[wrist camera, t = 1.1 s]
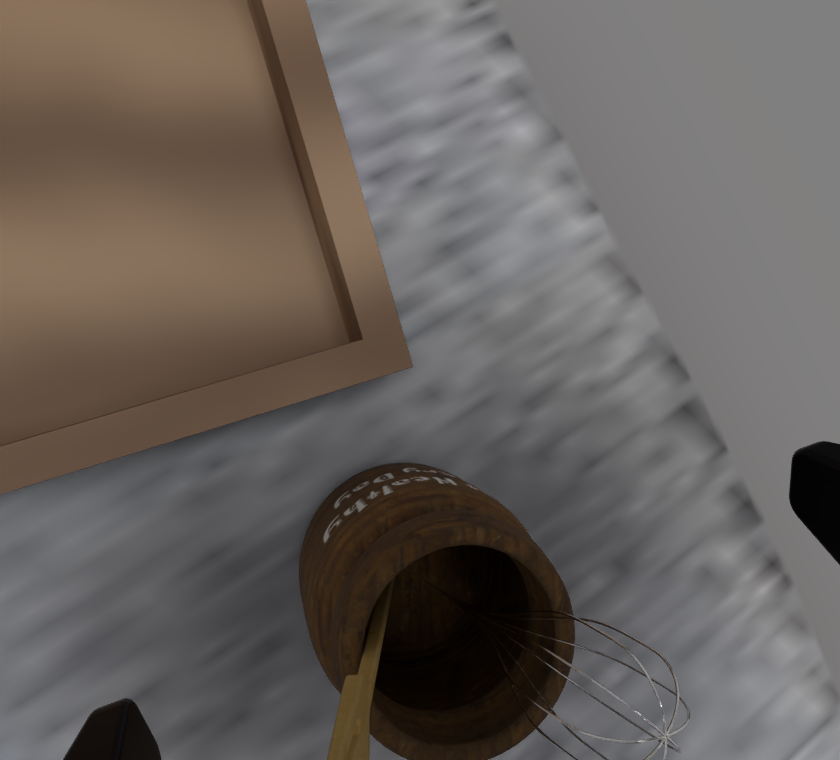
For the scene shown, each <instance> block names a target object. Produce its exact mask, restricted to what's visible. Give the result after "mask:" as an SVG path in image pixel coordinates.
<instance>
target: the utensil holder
mask: <svg viewBox="0 0 840 760" xmlns="http://www.w3.org/2000/svg"><path fill="white" fill-rule="evenodd" d="M299 580H300V590H301V597H302V602H303V608H304V613H305V618H306V622H307V627H308V630H309V634H310V638H311V641H312V644H313V647H314V650H315V653H316V655H317V658H318V660H319V662H320V664H321V666H322V668H323V670H324V672H325V673H326V675H327V677H328V678H329V680H330V681H331V683H332V684H333V685H334V687H335V688H336V689H337V690H338V691H339V693H340V694H341V698H340V703H339V707H338V712H337V716H336V721H335V726H334V730H333V735H332V740H331V744H330V749H329V753H328V758H327V760H369V733H370V734H371V735H372V736H373V737H374V738H375V739H376V740H377V741H378V742H380V743H381V744H382V745H383V746H385V747H386V748H388V749H389V750H391V751H392V752H394V753H396V754H398V755H400V756H402V757H404V758H406V759H409V760H488V759H490V758H493V757H495V756H497V755H500V754H502V753H504V752H505V751H507V750H509V749H511V748H512V747H514V746H515V745H517V744H518V743H520V742H521V741H522V740H523V739H525V738H526V737H527V736H528V735H529V734H531V733H532V732H533V731H534V730H535V729H537V730H538V731H539V732H540V733H541V734H542V735H543V736H544V737H545V738H546V739H547V740H548V741H550V742H551V743H552V744H553V745H555V746H556V747H557V748H558V749H560V750H561V751H562V752H564V753H565V754H566V755H568V756H569V757H571V758H572V759H573V760H578V759H577V758H575V757H574V756H572V755H571V754H570V753H568V752H567V751H566V750H564V749H563V748H561V747H560V746H559V745H558V744H556V743H555V742H554V741H552V740H551V739H550V738H549V737H548V736H547V735H545V734H544V733H543V732H542V731H541V730H540V729H539V728H538V726H539V725H540V723H541V722H542V721H543V720H544V719H545V718H546V716H547V715H548V714H550V715H551V716H552V717H554V718H555V719H557V720H558V721H559V722H561V723H562V725H563V726H564V727H565V728H566V729H567V730H568V731H569V732H570V733H571V734H572V735H574V736H575V737H576V738H577V739H578V740H579V741H580V742H582V743H583V744H584V745H585V746H587V747H588V748H589V749H590V750H592V751H593V752H595V753H596V754H597V755H599V756H600V757H601V758H603V759H604V760H609V759H607V758H606V757H604V756H603V755H602V754H600V753H599V752H598V751H596V750H595V749H593V748H592V747H591V746H589V745H588V744H587V743H586V742H584V741H583V740H582V739H581V738H580V737H578V736H577V735H576V734H575V733H574V732H573V731H572V730H571V729H573V730H575V731H577V732H579V733H582V734H584V735H587V736H590V737H593V738H597V739H601V740H605V741H611V742H618V743H645V742H651V741H656V740H657V741H659V742H660V743H659V744H658V746H657V747H656V748H655V749H654V750H653V752H652V753H651V754H650V755H649V756H647V757H646V758H645V759H644V760H649V759H650V758H651V757H652V756H653V755H654V754H655V753H656V752H657V751H658V750H659V748H660V747H661V746H662V744H664V754H663V758H662V760H665V759H666V754H667V747H668V748H670V749H672V750H674V751H676V752H678V753H681V752H682V750H681V748H680V747H679V746H678V745H677V744H676V743H675V742H674V741H673V740H672V739H671V738H670V737H669V736H672V735H674V734H676V733H678V732H680V731H681V730H682V729H684V728H685V727H686V726H687V724H688V723H689V720H690V710H689V708H688V706H687V704H686V702H685V701H684V700H683V699H682V698H681V697H680V696H679V687H678V682H677V679H676V676H675V673H674V671H673V669H672V667H671V666H670V664H669V663H668V661H667V660H666V659H665V658H664V656H662V655H661V654H660V653H659V652H658V651H656V650H655V649H653V648H652V647H650V646H648V645H647V644H645V643H643V642H641V641H640V640H638V639H636V638H634V637H633V636H631V635H629V634H627V633H625V632H623V631H621V630H619V629H617V628H615V627H613V626H611V625H608V624H605V623H603V622H599V621H596V620H592V619H586V618H576V617H574V616H573V611H572V606H571V602H570V599H569V596H568V593H567V591H566V588H565V586H564V583H563V582H562V580H561V578H560V576H559V574H558V573H557V571H556V570H555V568H554V566H553V565H552V563H551V562H550V560H549V559H548V558H547V556H546V555H545V554H544V553H543V551H542V550H541V549H540V548H539V547H538V545H537V544H536V543H535V542H534V541H533V540H532V538H531V537H530V535H529V534H528V532H527V531H526V529H525V528H524V527H523V525H522V524H521V523H520V522H519V521H518V519H517V518H516V517H515V516H514V515H513V514H512V513H511V512H510V511H509V510H508V509H507V508H505V507H504V506H503V505H502V504H500V503H499V502H498V501H497V500H495V499H494V498H492V497H491V496H489V495H488V494H486V493H485V492H483V491H481V490H480V489H478V488H476V487H475V486H473V485H471V484H469V483H467V482H465V481H464V480H462V479H460V478H458V477H456V476H454V475H452V474H450V473H447V472H445V471H443V470H440V469H437V468H434V467H430V466H426V465H421V464H413V463H395V464H387V465H382V466H378V467H374V468H371V469H368V470H366V471H363V472H361V473H359V474H357V475H355V476H353V477H352V478H350V479H349V480H347V481H345V482H344V483H343V484H341V485H340V486H339V487H338V488H337V489H335V490H334V491H333V492H332V493H331V494H330V495H329V496H328V497H327V499H326V500H325V501H324V502H323V503H322V505H321V506H320V507H319V509H318V510H317V512H316V514H315V515H314V517H313V519H312V521H311V523H310V525H309V527H308V530H307V532H306V535H305V538H304V541H303V545H302V550H301V556H300V566H299ZM574 620H577V621H579V622H581V623H583V624H585V625H587V626H589V627H590V628H592V629H594V630H596V631H597V632H599V633H601V634H602V635H604V636H606V637H608V638H609V639H611V640H612V641H614V642H615V643H617V644H618V645H620V646H621V647H622V648H624V649H625V650H626V651H627V652H628V653H629V654H630V655H631V656H632V657H633V658H634V660H635V661H636V662H637V663H638V665H639V666H640V667H641V669H642V670H643V672H644V673H643V672H641V671H639V670H638V669H636V668H634V667H632V666H630V665H628V664H626V663H624V662H622V661H620V660H618V659H616V658H614V657H611V656H609V655H607V654H604V653H601V652H598V651H596V650H593V649H590V648H587V647H583V646H580V645H577V644H575V626H574ZM585 621H589V622H594V623H598V624H601V625H604V626H606V627H609V628H612V629H614V630H616V631H618V632H620V633H622V634H624V635H626V636H627V637H629V638H631V639H633V640H635V641H636V642H638V643H640V644H642V645H643V646H645V647H647V648H649V649H650V650H652V651H653V652H654V653H656V654H657V655H659V656H660V657H661V658H662V659H663V660H664V662H665V663H666V664H667V666H668V667H669V669H670V671H671V673H672V676H673V678H674V682H675V686H676V692H674V691H673V690H671V689H670V688H668V687H667V686H665V685H663V684H662V683H660V682H658V681H657V680H655V679H653V678H651V677H650V676H649V675H648V673H647V671H646V670H645V668H644V667H643V665H642V664H641V663H640V662H639V660H638V659H637V658H636V657H635V655H634V654H633V653H632V652H631V651H630V650H629V649H628V648H627V647H625V646H624V645H623V644H622V643H620V642H619V641H617V640H616V639H614V638H613V637H611V636H609V635H608V634H606V633H604V632H602V631H601V630H599V629H597V628H595V627H594V626H592V625H590V624H588V623H586V622H585ZM574 646H576V647H579V648H582V649H585V650H588V651H591V652H594V653H597V654H600V655H603V656H605V657H608V658H610V659H612V660H615V661H617V662H619V663H621V664H623V665H625V666H627V667H629V668H631V669H633V670H634V671H636V672H638V673H640V674H642V675H643V676H645V677H647V678H648V680H649V682H650V684H651V686H652V688H653V690H654V692H655V695H656V697H657V700H658V703H659V707H660V710H661V714H662V720H663V727H664V732H663V731H661V730H660V729H659V728H658V727H657V726H655V725H654V724H653V723H652V722H651V721H649V720H648V719H647V718H646V717H644V716H643V715H642V714H641V713H639V712H638V711H637V710H635V709H634V708H633V707H631V706H630V705H629V704H627V703H626V702H625V701H623V700H622V699H621V698H619V697H618V696H617V695H615V694H614V693H612V692H611V691H610V690H608V689H607V688H605V687H604V686H603V685H601V684H600V683H598V682H597V681H595V680H594V679H592V678H591V677H590V676H588V675H587V674H585V673H583V672H582V671H580V670H579V669H577V668H576V667H574V666H573V665H571V664H572V659H573V653H574ZM570 668H572V669H574V670H575V671H577V672H578V673H580V674H581V675H583V676H585V677H586V678H588V679H589V680H590V681H592V682H593V683H595V684H596V685H598V686H599V687H601V688H602V689H603V690H605V691H606V692H608V693H609V694H610V695H612V696H613V697H614V698H616V699H617V700H619V701H620V702H621V703H623V704H624V705H625V706H627V707H628V708H629V709H631V710H632V711H633V712H635V713H636V714H637V715H638V716H640V717H641V718H642V719H643V720H645V721H646V722H647V723H648V724H650V725H651V726H652V727H653V728H655V729H656V730H657V731H658V732H659V733H661V734H662V736H658V737H656V736H654V735H653V734H651V733H650V732H648V731H647V730H645V729H643V728H642V727H640V726H639V725H637V724H636V723H634V722H633V721H631V720H630V719H628V718H627V717H625V716H624V715H622V714H621V713H619V712H618V711H616V710H615V709H613V708H612V707H610V706H609V705H607V704H606V703H604V702H603V701H601V700H600V699H598V698H597V697H595V696H594V695H592V694H591V693H590V692H588V691H587V690H585V689H584V688H582V687H581V686H580V685H578V684H577V683H575V682H574V681H572V680H571V679H570V678H568V675H569V671H570ZM566 680H569V681H570V682H571V683H573V684H574V685H576V686H577V687H578V688H580V689H581V690H583V691H584V692H586V693H587V694H588V695H590V696H591V697H593V698H594V699H596V700H597V701H599V702H600V703H601V704H603V705H604V706H606V707H607V708H609V709H610V710H612V711H613V712H615V713H616V714H618V715H619V716H621V717H622V718H624V719H625V720H627V721H628V722H630V723H631V724H633V725H634V726H636V727H637V728H639V729H640V730H642V731H643V732H645V733H646V734H648V735H650V736H651V737H653V738H649V739H642V740H620V739H612V738H606V737H602V736H598V735H594V734H590V733H588V732H585V731H582V730H580V729H577V728H575V727H573V726H571V725H570V724H568V723H566V722H565V721H563V720H562V719H560V718H559V717H558V715H557V714H556V713H555V712H554V711H553V709H552V708H553V706H554V705H555V703H556V702H557V700H558V698H559V696H560V694H561V692H562V690H563V688H564V685H565V683H566ZM652 681H653V682H655V683H657V684H658V685H660V686H662V687H663V688H665V689H667V690H668V691H669V692H671V693H672V694H674V695H675V696H676V707H675V711H674V715H673V718H672V720H671V723H670V725H669V727H668V729H667V728H666V720H665V715H664V710H663V707H662V703H661V700H660V697H659V695H658V692H657V690H656V688H655V686H654V684H653V682H652ZM679 699H680V700H681V701H682V703H683V704H684V706H685V708H686V710H687V719H686V722H685V723H684V724H683V725H682V726H681V727H680V728H678V729H676V730H675V731H673V732H670V730H671V728H672V726H673V724H674V721H675V719H676V716H677V712H678V707H679ZM550 711H551V712H552V713H551V712H550ZM570 728H571V729H570ZM669 732H670V733H669ZM661 739H662V740H661ZM667 740H669V741H670V742H671V743H672V744H673V745H674V746H675V747H676V748H677V749H676V748H674V747H672V746H670V745H669V744H667Z"/></svg>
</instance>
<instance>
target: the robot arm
mask: <svg viewBox="0 0 840 760" xmlns="http://www.w3.org/2000/svg"><path fill="white" fill-rule="evenodd" d="M789 499H790V504H791V506H792V509H793V511H794V512H795V514H796V515H797V517H798V518H799V519H800V520H801V521H802V522H803V523H804V525H805V526H806V527H807V528H808V529H809V530H810V531H811V533H812V534H813V535H814V536H815V537H816V538H817V539H818V540H819V542H820V543H821V544H822V545H823V546H824V547H825V549H826V550H827V551H828V552H829V553H830V554H831V556H832V557H833V558H834V559H835V560H836V561H837V562H838V564H839V565H840V444H836V443H832V442H826V441H822V442H817V443H814V444H811V445H809V446H806V447H803V448H800V449H798V450H797V451H796V452H795V454H794V455H793V457H792V464H791V478H790V491H789ZM63 760H161V755H160V751H159V748H158V745H157V742H156V740H155V738H154V736H153V735H152V733H151V731H150V729H149V727H148V725H147V723H146V722H145V720H144V718H143V716H142V714H141V712H140V710H139V709H138V707H137V705H136V703H135V702H134V701H133V700H131V699H128V698H125V699H122V700H119V701H116V702H114V703H111V704H108V705H105V706H103V707H100V708H98V709H96V710H94V711H93V712H92V713H91V714H90V716H89V717H88V719H87V720H86V722H85V724H84V725H83V727H82V729H81V730H80V732H79V734H78V735H77V737H76V739H75V740H74V742H73V744H72V745H71V747H70V749H69V750H68V752H67V754H66V755H65V757H64V759H63Z"/></svg>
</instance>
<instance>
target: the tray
mask: <svg viewBox="0 0 840 760" xmlns="http://www.w3.org/2000/svg"><path fill="white" fill-rule="evenodd" d="M411 367H413V365H412V361H411V358H410V355H409V351H408V348H407V344H406V341H405V338H404V334H403V331H402V327H401V324H400V321H399V317H398V314H397V310H396V307H395V304H394V300H393V297H392V293H391V290H390V287H389V283H388V280H387V276H386V273H385V270H384V266H383V263H382V259H381V256H380V252H379V249H378V246H377V242H376V239H375V235H374V232H373V229H372V225H371V222H370V218H369V215H368V212H367V208H366V205H365V201H364V198H363V195H362V191H361V188H360V184H359V181H358V178H357V174H356V171H355V167H354V164H353V161H352V157H351V154H350V150H349V147H348V144H347V140H346V137H345V133H344V130H343V126H342V123H341V120H340V116H339V113H338V109H337V106H336V103H335V99H334V96H333V92H332V89H331V86H330V82H329V79H328V75H327V72H326V69H325V65H324V62H323V58H322V55H321V52H320V48H319V45H318V41H317V38H316V35H315V31H314V28H313V24H312V21H311V18H310V14H309V11H308V7H307V4H306V0H0V494H3V493H6V492H9V491H13V490H16V489H19V488H22V487H26V486H29V485H32V484H35V483H38V482H42V481H45V480H48V479H51V478H55V477H58V476H61V475H64V474H68V473H71V472H74V471H77V470H81V469H84V468H87V467H90V466H94V465H97V464H100V463H103V462H106V461H110V460H113V459H116V458H119V457H123V456H126V455H129V454H132V453H136V452H139V451H142V450H145V449H149V448H152V447H155V446H158V445H162V444H165V443H168V442H171V441H174V440H178V439H181V438H184V437H187V436H191V435H194V434H197V433H200V432H204V431H207V430H210V429H213V428H217V427H220V426H223V425H226V424H229V423H233V422H236V421H239V420H242V419H246V418H249V417H252V416H255V415H259V414H262V413H265V412H268V411H272V410H275V409H278V408H281V407H285V406H288V405H291V404H294V403H297V402H301V401H304V400H307V399H310V398H314V397H317V396H320V395H323V394H327V393H330V392H333V391H336V390H340V389H343V388H346V387H349V386H353V385H356V384H359V383H362V382H365V381H369V380H372V379H375V378H378V377H382V376H385V375H388V374H391V373H395V372H398V371H401V370H404V369H408V368H411Z"/></svg>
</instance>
